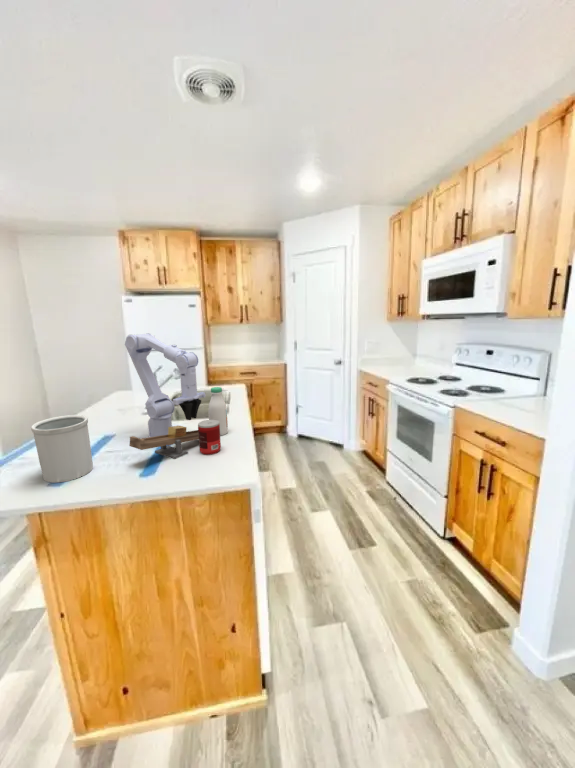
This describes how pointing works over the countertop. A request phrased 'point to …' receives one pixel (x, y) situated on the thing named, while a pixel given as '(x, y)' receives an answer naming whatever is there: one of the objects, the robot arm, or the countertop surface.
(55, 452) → the utensil holder
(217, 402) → the milk bottle
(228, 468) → the countertop surface
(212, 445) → the canned food
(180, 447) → the stand
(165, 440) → the beam
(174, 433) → the block
